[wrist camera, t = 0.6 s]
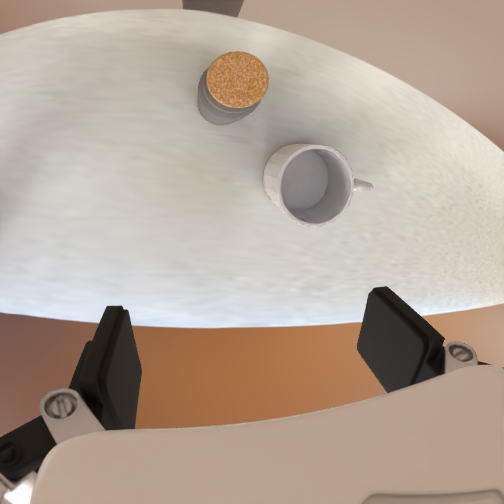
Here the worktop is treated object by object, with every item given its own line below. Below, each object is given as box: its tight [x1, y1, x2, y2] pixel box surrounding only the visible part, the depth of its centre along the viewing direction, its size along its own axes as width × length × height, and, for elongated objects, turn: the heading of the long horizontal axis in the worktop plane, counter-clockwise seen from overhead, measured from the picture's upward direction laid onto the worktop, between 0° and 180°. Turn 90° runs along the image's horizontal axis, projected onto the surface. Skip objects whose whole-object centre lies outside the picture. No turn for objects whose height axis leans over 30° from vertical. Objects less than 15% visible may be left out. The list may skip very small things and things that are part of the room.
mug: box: [263, 144, 373, 227], centre depth 36 cm, size 13×9×7 cm
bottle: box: [198, 51, 269, 125], centre depth 27 cm, size 6×6×15 cm
